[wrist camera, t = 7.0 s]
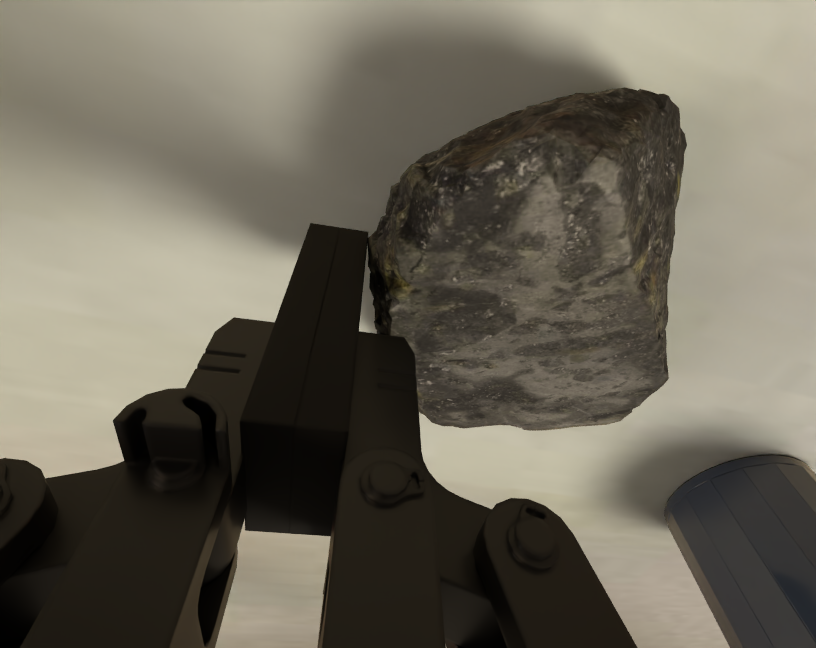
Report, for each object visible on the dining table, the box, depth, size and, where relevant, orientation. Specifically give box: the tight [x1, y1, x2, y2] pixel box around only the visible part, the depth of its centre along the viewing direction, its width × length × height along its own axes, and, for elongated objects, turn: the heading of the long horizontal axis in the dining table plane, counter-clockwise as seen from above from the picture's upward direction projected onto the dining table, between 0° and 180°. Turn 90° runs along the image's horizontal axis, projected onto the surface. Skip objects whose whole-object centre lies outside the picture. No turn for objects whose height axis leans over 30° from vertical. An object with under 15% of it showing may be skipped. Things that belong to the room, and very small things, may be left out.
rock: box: [367, 88, 687, 430], centre depth 12 cm, size 9×11×6 cm
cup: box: [664, 455, 816, 648], centre depth 20 cm, size 7×7×9 cm
